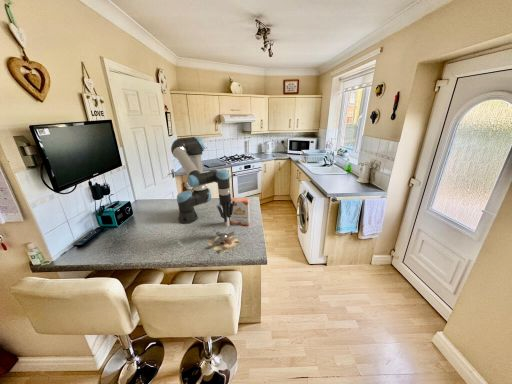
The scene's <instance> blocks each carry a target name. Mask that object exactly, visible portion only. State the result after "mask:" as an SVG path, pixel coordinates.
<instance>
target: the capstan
mask: <svg viewBox="0 0 512 384" xmlns="http://www.w3.org/2000/svg"><path fill="white" fill-rule="evenodd" d="M215 233H216V234H215V235H216V236H217V237H220V238H218V239H216V240H213V241H212V244H213V245H214V244H216V243H219V242H220V243H221V244H229V245H231V244H232V242H231V241H230V240H229V239H228V238H229V237H231V236H233V237H234V235H235V232H234V231H231V232H228V233H229V234H226V233H227V232H222V233H221V232H220V231H216V232H215Z"/></svg>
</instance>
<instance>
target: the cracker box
mask: <svg viewBox="0 0 512 384" xmlns="http://www.w3.org/2000/svg"><path fill="white" fill-rule="evenodd" d="M231 200H232V201H234V205H233V212H232V215H231V217H230V224H231V225H239V226H243V227H244V226H247V227H249V226H250V221H251V220H250V219H251V217H250V214H251V213H250V198H241V197H239V198H235V197H234V198H233V197H231Z"/></svg>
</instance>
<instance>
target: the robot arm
mask: <svg viewBox="0 0 512 384" xmlns="http://www.w3.org/2000/svg"><path fill="white" fill-rule="evenodd" d="M170 150H171V153H172V155H173V157H174V158H175V159H177V161H178V162H179V164H180V166H181V168H182V169H183V170H184V172H185V173H186V175H187V176H186V177H187V178H186V181H187V185H188V186H189V187H190V188H193V189H192V191H191V190H184V191H182V192H179V193H178V194H177V195H176V201H177V207H178V212H179V213H178V217H177V218H178V222H179V223H180V224H182V225H185V224H186V225H187V224H191V223H194V222H196V221H197V220H198V219H199V218H198V217H199V216H198V213H197V212H196V210H195V207H196V206H200V205H203V204H206V203H209V202H210V201H211V200H212V192H211V189H210V188H209V187H208V184H212V183H216V184H217V190H218V192H217V193H218V200H219V202H218V203H219V204H218V205H216V208H217V210H218V212H219V215H220V218H222V219H223V220H224V223H225V226H226V227H230V224H231V223H230V222H231V215H232V212H233V205H234V201H232V200H231V198H232V195H231V187H230V184H231V183H230V182H231V181H230V173H229V170H228V169H225V168H222V169H214V168H213V169H210V170H208V171H206V172H205V171H204V168H203V163H202V162H203V161H202V155H203V152H204V151H205V144H204V140H203V139H202V138H201V137H199V136H189V137H180V138H177V139H175V140H174V141H173V142H172V144H171V148H170Z"/></svg>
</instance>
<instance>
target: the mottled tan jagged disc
mask: <svg viewBox="0 0 512 384" xmlns="http://www.w3.org/2000/svg"><path fill="white" fill-rule="evenodd" d="M225 233H226V234H229V233H230V232H225ZM218 238H220V237H219V236H217V237H215V238H212V239H210V240H209V241H208V240H207V241H206V244H208V245H209V246H210V248H212V249H213V250H214V251H215V252H216V253H217V254H219V255H222V254H224V253H225V252H227V251H229V250H231V249H233V248H235V247H238V245H241V244H242V242H241V241H240V240H239V239H237V238H236V237H235V236H234V235H233V236H231V237H229V238H228V239H229V240H230V241H231V242H232V244H231V245H229V244H221V243H220V242H219V243H216V244H214V245H213V244H212V241H213V240H216V239H218Z"/></svg>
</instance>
